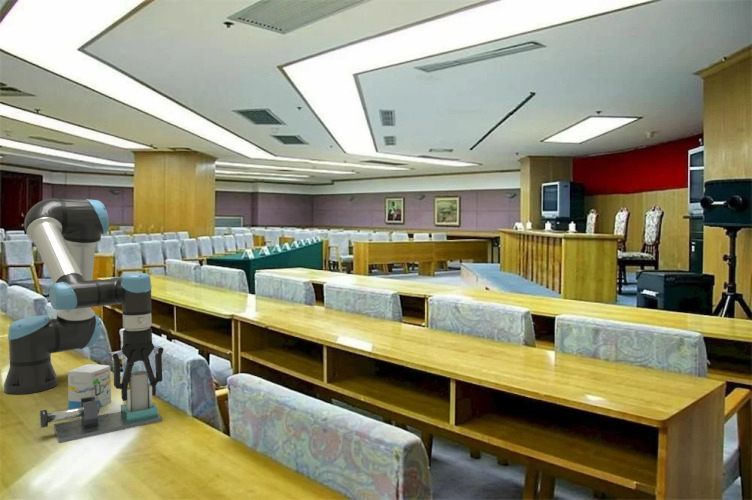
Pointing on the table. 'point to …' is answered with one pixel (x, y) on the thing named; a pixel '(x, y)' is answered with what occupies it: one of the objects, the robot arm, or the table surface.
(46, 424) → the shaft
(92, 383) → the ink box
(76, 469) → the table surface
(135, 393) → the beverage can
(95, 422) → the bolt fixture plate
